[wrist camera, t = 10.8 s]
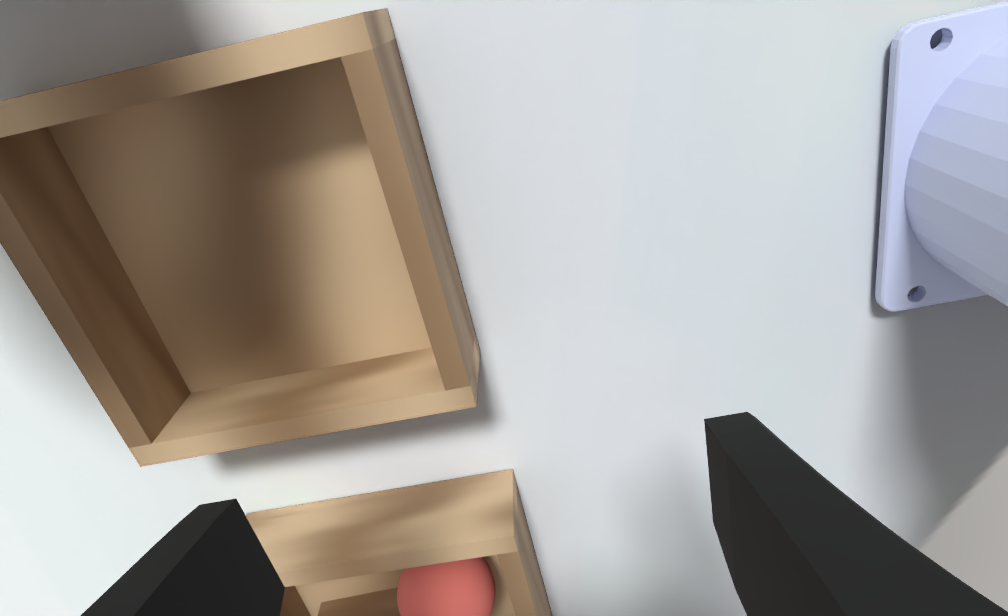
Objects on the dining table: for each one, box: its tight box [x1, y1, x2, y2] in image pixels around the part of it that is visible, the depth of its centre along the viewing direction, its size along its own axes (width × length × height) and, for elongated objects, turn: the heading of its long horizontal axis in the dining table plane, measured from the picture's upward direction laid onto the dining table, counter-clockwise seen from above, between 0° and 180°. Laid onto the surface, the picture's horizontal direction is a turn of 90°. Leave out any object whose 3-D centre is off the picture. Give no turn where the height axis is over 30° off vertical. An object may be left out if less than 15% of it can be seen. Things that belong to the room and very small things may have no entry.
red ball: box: [397, 557, 495, 616], centre depth 22 cm, size 3×3×3 cm
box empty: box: [0, 8, 480, 467], centre depth 17 cm, size 10×10×3 cm
